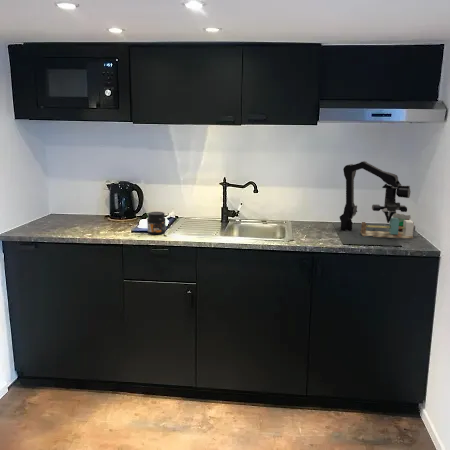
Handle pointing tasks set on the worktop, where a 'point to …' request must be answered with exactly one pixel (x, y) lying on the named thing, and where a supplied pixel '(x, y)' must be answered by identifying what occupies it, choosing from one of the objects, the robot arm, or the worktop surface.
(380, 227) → the fibre cord
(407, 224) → the connector block
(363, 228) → the comb board
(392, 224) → the sleeve
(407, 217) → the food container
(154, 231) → the supplement container
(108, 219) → the worktop surface
